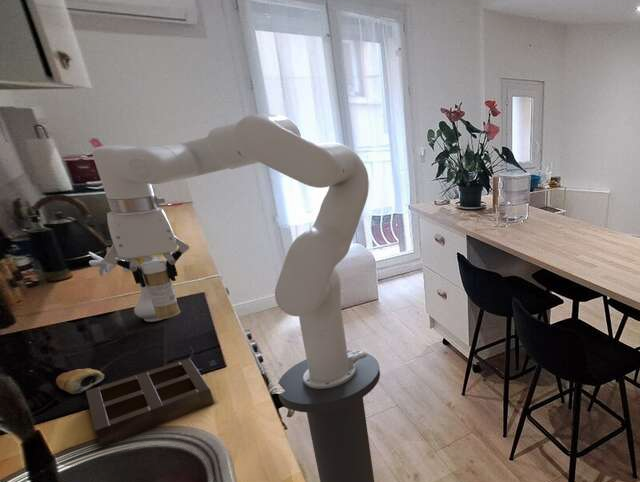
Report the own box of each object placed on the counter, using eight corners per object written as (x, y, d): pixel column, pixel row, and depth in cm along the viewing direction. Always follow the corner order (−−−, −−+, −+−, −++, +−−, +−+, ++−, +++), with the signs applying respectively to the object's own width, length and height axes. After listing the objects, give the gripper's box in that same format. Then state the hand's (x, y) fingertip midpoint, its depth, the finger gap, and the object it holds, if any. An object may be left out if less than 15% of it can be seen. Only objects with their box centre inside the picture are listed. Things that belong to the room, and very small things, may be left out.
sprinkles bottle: (168, 310, 100) (152, 259, 96) (185, 311, 100) (170, 260, 95) (150, 319, 96) (133, 265, 91) (169, 320, 96) (152, 266, 91)
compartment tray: (193, 371, 103) (189, 357, 102) (214, 403, 92) (209, 388, 91) (92, 405, 90) (85, 390, 89) (101, 447, 79) (94, 430, 78)
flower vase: (115, 318, 127) (87, 242, 118) (191, 304, 138) (170, 233, 130) (111, 335, 118) (80, 253, 109) (192, 318, 129) (170, 242, 120)
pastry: (47, 388, 95) (41, 374, 94) (84, 372, 101) (78, 359, 100) (75, 396, 93) (69, 382, 91) (111, 379, 99) (106, 366, 98)
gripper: (179, 198, 97) (199, 269, 103) (76, 207, 85) (105, 287, 91) (186, 202, 92) (206, 277, 99) (78, 213, 80) (109, 297, 87)
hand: (158, 281), depth 95 cm, fingers closed on sprinkles bottle, 4 cm apart
